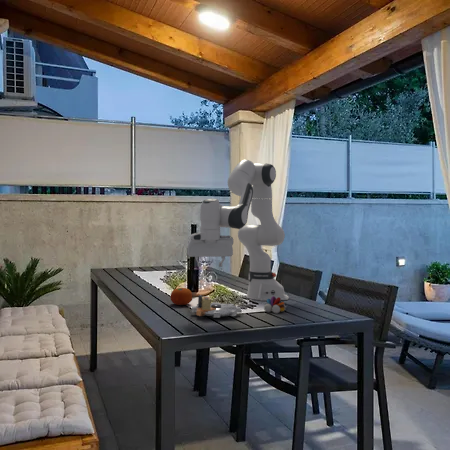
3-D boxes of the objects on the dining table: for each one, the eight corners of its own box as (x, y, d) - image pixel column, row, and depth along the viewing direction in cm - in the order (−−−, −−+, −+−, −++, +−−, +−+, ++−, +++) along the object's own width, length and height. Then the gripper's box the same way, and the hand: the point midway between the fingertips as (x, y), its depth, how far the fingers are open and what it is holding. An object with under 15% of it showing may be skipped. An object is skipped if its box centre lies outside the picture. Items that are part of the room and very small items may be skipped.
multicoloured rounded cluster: (280, 315, 216) (280, 299, 215) (261, 312, 221) (261, 296, 220) (287, 311, 223) (288, 296, 223) (269, 309, 228) (269, 294, 228)
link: (209, 306, 211) (209, 296, 211) (210, 309, 205) (210, 298, 205) (201, 306, 210) (201, 296, 210) (202, 309, 204) (202, 298, 204)
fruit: (182, 301, 241) (183, 286, 241) (196, 305, 233) (196, 288, 233) (165, 304, 233) (166, 288, 233) (179, 307, 226) (179, 291, 226)
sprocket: (209, 304, 227) (209, 290, 227) (249, 310, 216) (249, 295, 215) (181, 312, 209) (181, 296, 208) (223, 319, 197) (224, 303, 197)
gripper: (232, 234, 216) (232, 265, 217) (187, 235, 214) (187, 265, 215) (234, 236, 210) (234, 267, 211) (187, 236, 208) (187, 267, 208)
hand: (210, 266), depth 213 cm, fingers open, 8 cm apart
